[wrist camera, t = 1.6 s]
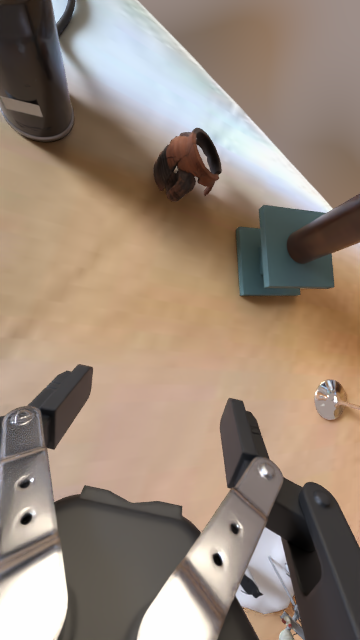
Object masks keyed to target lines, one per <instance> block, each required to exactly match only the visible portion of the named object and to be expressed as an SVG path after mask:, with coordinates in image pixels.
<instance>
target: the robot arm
mask: <svg viewBox="0 0 360 640" xmlns="http://www.w3.org/2000/svg"><path fill="white" fill-rule="evenodd" d="M74 7H75V0H68V3H67V7H66V10H65V12H64V14H63V15H62V17H61V18H60V20H59V21H58V22H57V23H56V22H55V17H54V12H53V6H52V1H51V0H0V110H1V112H2V114H3V116H4V118H5V119H6V121H7V122H8V124H9V125H10V126H11V127H12V128H13V129H14V130H15V131H17V132H18V133H19V134H21V135H23V136H25V137H27V138H29V139H32V140H35V141H41V142H51V141H56V140H59V139H61V138H63V137H64V136H66V135H67V134H68V133H69V132H70V130H71V128H72V126H73V123H74V113H73V108H72V104H71V101H70V96H69V91H68V85H67V80H66V74H65V69H64V64H63V59H62V53H61V48H60V43H59V38H58V35H59V34H60V33H61V32H62V31H63V30H64V28H65V27H66V26H67V24H68V22H69V20H70V19H71V16H72V14H73V11H74ZM92 375H93V367H90V366H86V365H81V364H79V365H77V366H76V368H75V369H74V370H73V371H72V372H70V371H65V372H63V373H61V374H59V375H58V376H57V377H56V378H55V379H54V380H53V381H52V383H50V384H49V385H48V386H47V388H45V389H44V390H43V391H42V392H41V393H40V394H39V395H38V396H37V397H36V398H35V399H34V400H33V401H32V402H31V403H30V404H29V405H28V406H24V407H19V408H16V409H14V410H12V411H10V412H9V413H8V414H7V415H6V416H2V417H0V640H259V638H258V636H257V635H256V633H255V631H254V629H253V627H252V625H251V623H250V622H249V620H248V618H247V616H246V614H245V612H244V610H243V608H242V607H241V605H240V603H239V601H238V599H237V597H236V592H237V590H238V588H239V585H240V583H241V581H242V578H243V576H244V574H245V572H246V569H247V567H248V565H249V562H250V560H251V558H252V555H253V553H254V551H255V549H256V546H257V544H258V542H259V539H260V537H261V535H262V532H263V530H264V528H265V527H266V528H267V529H269V530H271V531H272V532H274V533H276V534H277V535H279V536H281V540H282V545H283V549H284V553H285V557H286V561H287V565H288V570H289V574H290V578H291V582H292V586H293V590H294V595H295V599H296V603H297V607H298V611H299V615H300V620H301V624H302V628H303V632H304V636H305V640H360V547H359V545H358V543H357V541H356V539H355V537H354V535H353V533H352V531H351V529H350V527H349V525H348V523H347V521H346V519H345V517H344V515H343V513H342V511H341V509H340V507H339V505H338V503H337V501H336V499H335V498H334V497H333V496H332V494H331V493H330V492H329V491H327V490H326V489H325V488H324V487H322V486H321V485H319V484H317V483H313V482H308V483H306V484H305V485H304V486H303V487H301V486H299V485H297V484H295V483H293V482H291V481H289V480H287V479H286V478H284V477H283V475H282V473H281V471H280V469H279V468H278V467H277V465H276V464H275V463H273V462H272V461H271V460H270V459H269V456H268V453H267V450H266V447H265V444H264V441H263V438H262V436H261V432H260V429H259V426H258V423H257V420H256V419H255V417H254V416H253V415H252V413H251V412H249V411H246V410H245V407H244V403H243V401H241V400H237V399H232V398H229V399H228V401H227V404H226V406H225V409H224V412H223V415H222V418H221V422H220V433H221V441H222V449H223V457H224V464H225V472H226V480H227V488H231V490H230V491H229V493H228V494H227V496H226V497H225V499H224V500H223V502H222V503H221V505H220V506H219V507H218V509H217V510H216V512H215V513H214V515H213V516H212V518H211V519H210V521H209V522H208V524H207V525H206V527H205V528H204V530H203V531H202V533H201V532H200V531H199V530H198V529H197V528H196V526H195V525H194V524H192V523H191V522H190V521H189V520H188V519H186V518H185V517H183V516H182V506H179V505H174V504H169V503H165V502H160V501H153V502H141V503H131V502H129V501H127V500H125V499H123V498H121V497H120V496H118V495H116V494H114V493H112V492H111V491H109V490H104V489H100V488H95V487H90V486H86V485H85V486H84V488H83V490H82V492H81V494H77V495H72V496H68V497H65V498H62V499H60V500H58V501H56V502H54V497H53V490H52V482H51V474H50V467H49V459H48V452H47V448H50V449H55V448H56V446H57V445H58V443H59V442H60V440H61V439H62V437H63V436H64V434H65V433H66V431H67V430H68V428H69V427H70V425H71V424H72V422H73V421H74V419H75V418H76V416H77V415H78V413H79V412H80V410H81V409H82V407H83V406H84V404H85V403H86V401H87V400H88V398H89V395H90V392H91V386H92Z"/></svg>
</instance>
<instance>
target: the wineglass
mask: <svg viewBox="0 0 360 640" xmlns="http://www.w3.org/2000/svg"><path fill="white" fill-rule="evenodd" d="M314 403H315V407H316V410H317V412H318V413H319V415H320V416H321V417H323V418H324V419H327V420H333V419H336V418H338V417H339V416H340V415H341V414H342V412H343V410H344V408H345V406H348V407H351V408H354V409H358V410H360V406H359V405H355V404H352V403H348V402H346V395H345V391H344V389H343V387H342V386H341V384H340V383H339V382H337V381H336V380H333V379H328V380H325V381H323V382H322V383H320V385H319V386H318V387H317V389H316V392H315V396H314Z"/></svg>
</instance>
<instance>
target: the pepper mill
mask: <svg viewBox="0 0 360 640" xmlns="http://www.w3.org/2000/svg"><path fill="white" fill-rule="evenodd" d="M359 242H360V194H358V195H356V196H355V197H353V198H351V199H350V200H348V201H346V202H345V203H343V204H341V205H339V206H338V207H336V208H334V209H333V210H331V211H329V212H327V213H326V214H324V215H322V216H321V217H319V218H317V219H315V220H314V221H312V222H310V223H309V224H307V225H305V226H304V227H302V228H300V229H298V230H297V231H295V232H293V233H292V234H291V235H290V236H289V238H288V240H287V250H288V253H289V255H290V257H291V258H292V259H293V260H294V261H296V262H297V263H301V264H304V263H308V262H310V261H313V260H315V259H318V258H321V257H323V256H326V255H328V254H331V253H334V252H336V251H339V250H341V249H344V248H346V247H349V246H352V245H354V244H357V243H359Z"/></svg>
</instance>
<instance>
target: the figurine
mask: <svg viewBox="0 0 360 640" xmlns="http://www.w3.org/2000/svg"><path fill="white" fill-rule="evenodd" d="M293 596H294V590H293V586H292V582H291V578H290V574H289V570H288V565H287V561H286V557H285V553H284V549H283V545H282V540H281V536H279V535H277V534H276V533H274V532H272V531H271V530H269V529H267V528H266V527H265V528H264V530H263V532H262V535H261V537H260V539H259V542H258V544H257V546H256V549H255V551H254V553H253V555H252V558H251V560H250V562H249V565H248V567H247V569H246V572H245V574H244V576H243V578H242V581H241V583H240V585H239V588H238V590H237V592H236V597H237V599H238V601H239V603H240V605H241V607H245V608H248V609H251V610H254V611H257V612H260V613H263V614H267V613H272V612H276V611H280V610H282V609H285V608H287V607H288V605H289V603H290V601H291V602H292V604H293V605H292V606H294V610H295V612H294V613H295V614H294V616H293V617H292V618H291V617H290V616H289V615H288V614H287V613H286V612H285V611H284V610H283V611H284V613H283V614H282V616H280V618H281V619H282V622H283V623H284V624H286V625H287V627H286V628H285V630H283V631H282V632H281V633H280V636H279V640H294V638H293V636H294V635H295V634H294V635H293V636H292V634H291V632H290V630H291V629H293V630H294V631H295V632H296V634H298V635H299V636H300V637H301V638H302V639H303V640H305V636H304V632H303V628H302V627H301V626H302V625H301V626H300V625H299V624H298V623H297V622H296V621H297V619H298V620H299V619H300V615H299V611H298V607H297V604H295V603H294V601H293V599H292V597H293ZM294 610H293V611H294ZM299 622H301V621H299ZM300 624H301V623H300Z"/></svg>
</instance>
